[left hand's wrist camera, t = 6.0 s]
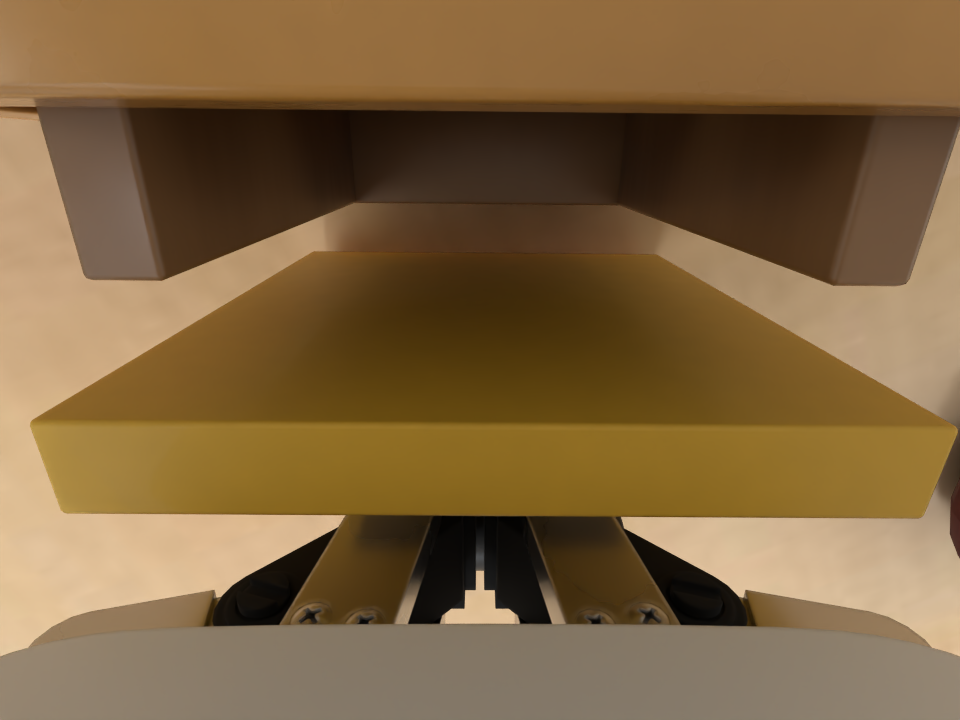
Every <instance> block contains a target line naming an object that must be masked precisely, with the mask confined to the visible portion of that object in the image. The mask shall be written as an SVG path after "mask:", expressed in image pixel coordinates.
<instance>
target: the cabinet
mask: <svg viewBox="0 0 960 720" xmlns="http://www.w3.org/2000/svg"><path fill="white" fill-rule="evenodd" d="M36 107H113V108H209V109H306V110H403V111H499V112H596V113H693V114H789V115H886V116H960V0H0V118H13V119H27V120H40V119H39V116H38V112H37V109H36ZM959 129H960V128H959Z"/></svg>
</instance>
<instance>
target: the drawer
mask: <svg viewBox="0 0 960 720" xmlns="http://www.w3.org/2000/svg"><path fill="white" fill-rule="evenodd" d="M36 109H37V112H38V116H39V119H40V123H41V126H42V130H43V133H44V137H45V140H46V144H47V147H48V151H49V154H50V158H51V161H52V165H53V168H54V172H55V175H56V179H57V182H58V186H59V189H60V193H61V196H62V200H63V203H64V207H65V210H66V214H67V217H68V221H69V224H70V228H71V231H72V235H73V238H74V242H75V245H76V249H77V252H78V256H79V259H80V263H81V266H82V270H83V273H84V275H85V277H86V278H88V279H92V280H157V281H162V280H165V279H167V278H170V277H172V276H175V275H177V274H179V273H182V272H184V271H187V270H189V269H192V268H194V267H197V266H199V265H202V264H204V263H207V262H209V261H212V260H214V259H217V258H219V257H221V256H224V255H226V254H229V253H231V252H234V251H236V250H239V249H241V248H244V247H246V246H249V245H251V244H254V243H256V242H259V241H261V240H264V239H266V238H268V237H271V236H273V235H276V234H278V233H281V232H283V231H286V230H288V229H291V228H293V227H296V226H298V225H301V224H303V223H306V222H308V221H311V220H313V219H315V218H318V217H320V216H323V215H325V214H328V213H330V212H333V211H335V210H338V209H340V208H343V207H345V206H348V205H350V204H353V203H435V204H542V205H620V206H623V207H625V208H628V209H631V210H633V211H636V212H639V213H641V214H644V215H647V216H649V217H652V218H655V219H657V220H660V221H663V222H665V223H668V224H671V225H673V226H676V227H679V228H681V229H684V230H687V231H689V232H692V233H695V234H697V235H700V236H703V237H705V238H708V239H711V240H713V241H716V242H719V243H721V244H724V245H727V246H729V247H732V248H735V249H737V250H740V251H743V252H745V253H748V254H751V255H753V256H756V257H759V258H761V259H764V260H767V261H769V262H772V263H775V264H777V265H780V266H783V267H785V268H788V269H791V270H793V271H796V272H799V273H801V274H804V275H807V276H809V277H812V278H815V279H817V280H820V281H823V282H825V283H828V284H831V285H833V286H899V285H903V284H906V283H907V282H908V280H909V279H910V276H911V273H912V270H913V267H914V264H915V261H916V258H917V255H918V252H919V249H920V246H921V243H922V240H923V237H924V234H925V231H926V228H927V225H928V222H929V219H930V216H931V213H932V210H933V207H934V204H935V201H936V198H937V195H938V191H939V188H940V185H941V182H942V179H943V176H944V173H945V170H946V167H947V164H948V161H949V158H950V155H951V152H952V149H953V146H954V143H955V140H956V137H957V134H958V131H959V128H960V116H886V115H789V114H693V113H596V112H499V111H403V110H306V109H209V108H113V107H36ZM30 427H31V430H32V433H33V435H34V438H35V441H36V444H37V446H38V449H39V452H40V454H41V457H42V460H43V463H44V465H45V468H46V471H47V473H48V476H49V479H50V482H51V484H52V487H53V490H54V493H55V495H56V498H57V501H58V503H59V506H60V509H61V510H62V511H63V512H64V513H82V514H249V515H416V516H476V571H484V516H584V517H616V519H617V520H618V522H619V524H620V525H621V527H622V528H624V527H623V522H622V519H621V517H751V518H921V517H922V516H923V515H924V513H925V511H926V508H927V506H928V504H929V501H930V499H931V496H932V494H933V492H934V489H935V487H936V484H937V482H938V479H939V477H940V475H941V472H942V470H943V467H944V465H945V463H946V460H947V458H948V455H949V453H950V451H951V448H952V446H953V443H954V441H955V438H956V436H957V434H958V429H957V428H956V426H954V425H952V424H950V423H949V422H947V421H945V420H944V419H942V418H940V417H938V416H937V415H935V414H933V413H931V412H930V411H928V410H926V409H924V408H923V407H921V406H919V405H917V404H916V403H914V402H912V401H910V400H909V399H907V398H905V397H903V396H902V395H900V394H898V393H897V392H895V391H893V390H891V389H890V388H888V387H886V386H884V385H883V384H881V383H879V382H877V381H876V380H874V379H872V378H870V377H869V376H867V375H865V374H863V373H862V372H860V371H858V370H857V369H855V368H853V367H851V366H850V365H848V364H846V363H844V362H843V361H841V360H839V359H837V358H836V357H834V356H832V355H830V354H829V353H827V352H825V351H823V350H822V349H820V348H818V347H816V346H815V345H813V344H811V343H810V342H808V341H806V340H804V339H803V338H801V337H799V336H797V335H796V334H794V333H792V332H790V331H789V330H787V329H785V328H783V327H782V326H780V325H778V324H776V323H775V322H773V321H771V320H769V319H768V318H766V317H764V316H763V315H761V314H759V313H757V312H756V311H754V310H752V309H750V308H749V307H747V306H745V305H743V304H742V303H740V302H738V301H736V300H735V299H733V298H731V297H729V296H728V295H726V294H724V293H722V292H721V291H719V290H717V289H716V288H714V287H712V286H710V285H709V284H707V283H705V282H703V281H702V280H700V279H698V278H696V277H695V276H693V275H691V274H689V273H688V272H686V271H684V270H682V269H681V268H679V267H677V266H676V265H674V264H672V263H670V262H669V261H667V260H665V259H663V258H662V257H660V256H658V255H656V254H543V253H430V252H316V251H314V252H312V253H310V254H309V255H307V256H305V257H304V258H302V259H300V260H299V261H297V262H295V263H293V264H292V265H290V266H288V267H287V268H285V269H283V270H282V271H280V272H278V273H277V274H275V275H273V276H272V277H270V278H268V279H267V280H265V281H263V282H262V283H260V284H258V285H257V286H255V287H253V288H252V289H250V290H248V291H247V292H245V293H243V294H242V295H240V296H238V297H237V298H235V299H233V300H232V301H230V302H228V303H227V304H225V305H223V306H222V307H220V308H218V309H217V310H215V311H213V312H212V313H210V314H208V315H207V316H205V317H203V318H202V319H200V320H198V321H197V322H195V323H193V324H192V325H190V326H188V327H187V328H185V329H183V330H182V331H180V332H178V333H177V334H175V335H173V336H172V337H170V338H168V339H167V340H165V341H163V342H162V343H160V344H158V345H157V346H155V347H153V348H152V349H150V350H148V351H147V352H145V353H143V354H142V355H140V356H138V357H137V358H135V359H133V360H132V361H130V362H128V363H127V364H125V365H123V366H122V367H120V368H118V369H117V370H115V371H113V372H112V373H110V374H108V375H107V376H105V377H103V378H102V379H100V380H98V381H97V382H95V383H93V384H92V385H90V386H88V387H87V388H85V389H83V390H82V391H80V392H78V393H77V394H75V395H73V396H72V397H70V398H68V399H67V400H65V401H63V402H62V403H60V404H58V405H57V406H55V407H53V408H52V409H50V410H48V411H47V412H45V413H43V414H42V415H40V416H38V417H37V418H35V419H33V420H32V421H31V423H30Z"/></svg>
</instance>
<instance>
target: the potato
mask: <svg viewBox="0 0 960 720" xmlns="http://www.w3.org/2000/svg"><path fill="white" fill-rule="evenodd" d="M950 535H951V538H952V541H953V543H954V546H955V549H956V551H957V554H958V556H959V558H960V479H959V481H958V483H957V486H956V488H955V490H954V492H953V495H952V497H951V512H950Z"/></svg>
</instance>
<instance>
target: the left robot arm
mask: <svg viewBox="0 0 960 720" xmlns="http://www.w3.org/2000/svg"><path fill="white" fill-rule="evenodd" d="M465 590H476V516H416V515H346V516H345V517H344V519H343V520H342V522H341V524H340V525H339V527H338V528H336V529H334V530H332V531H330V532H328V533H326V534H325V535H323V536H321V537H319V538H317V539H315V540H313V541H312V542H310V543H308V544H306V545H304V546H302V547H300V548H298V549H297V550H295V551H293V552H291V553H289V554H287V555H285V556H283V557H282V558H280V559H278V560H276V561H274V562H272V563H270V564H269V565H267V566H265V567H263V568H261V569H259V570H257V571H255V572H254V573H252V574H250V575H248V576H246V577H245V578H243V579H242V580H240V581H239V582H237V583H235V584H234V585H233V586H232V587H231V588H230V589H229V590H228V591H227V592H226V593H225V594H224V595H223V596H222V597H219V598H216V594H215V590H211V591H206V592H200V593H194V594H188V595H183V596H177V597H171V598H165V599H160V600H154V601H148V602H143V603H137V604H131V605H125V606H120V607H114V608H108V609H102V610H97V611H91V612H87V613H84V614H80V615H77V616H74V617H71V618H69V619H67V620H65V621H63V622H61V623H59V624H57V625H55V626H53V627H51V628H50V629H49V630H47V631H46V632H45V633H43V634H42V635H41V636H39V637H38V638H37V639H35V640H34V642H33V643H32V644H31V645H30V646H29V647H28V648H26V649H22V650H19V651H15V652H12V653H9V654H6V655H3V656H1V657H0V720H960V657H959V656H957V655H954V654H951V653H948V652H945V651H941V650H938V649H934V648H932V647H931V646H930V645H929V644H928V643H927V642H926V640H925V639H923V638H922V637H921V636H919V635H918V634H917V633H915V632H914V631H913V630H911V629H910V628H909V627H907V626H905V625H903V624H901V623H899V622H897V621H895V620H893V619H891V618H889V617H886V616H883V615H880V614H876V613H873V612H869V611H863V610H858V609H852V608H846V607H840V606H835V605H829V604H823V603H818V602H812V601H806V600H800V599H795V598H789V597H783V596H777V595H772V594H766V593H760V592H754V591H749V590H745V594H744V598H741V597H738V596H737V595H736V594H735V593H734V592H733V591H732V590H731V589H730V587H729V586H728V585H726V584H725V583H723V582H722V581H720V580H718V579H717V578H715V577H714V576H712V575H710V574H708V573H706V572H705V571H703V570H701V569H699V568H697V567H695V566H693V565H692V564H690V563H688V562H686V561H684V560H682V559H680V558H678V557H677V556H675V555H673V554H671V553H669V552H667V551H665V550H663V549H662V548H660V547H658V546H656V545H654V544H652V543H650V542H648V541H647V540H645V539H643V538H641V537H639V536H637V535H635V534H634V533H632V532H630V531H628V530H626V529H624V528H622V527H621V525H620V524H619V522H618V520H617V519H616V517H584V516H484V590H495V607H496V609H510V610H511V611H513V612H514V613H515V624H445V613H446V612H448V611H449V610H450V609H464V607H465Z"/></svg>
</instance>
